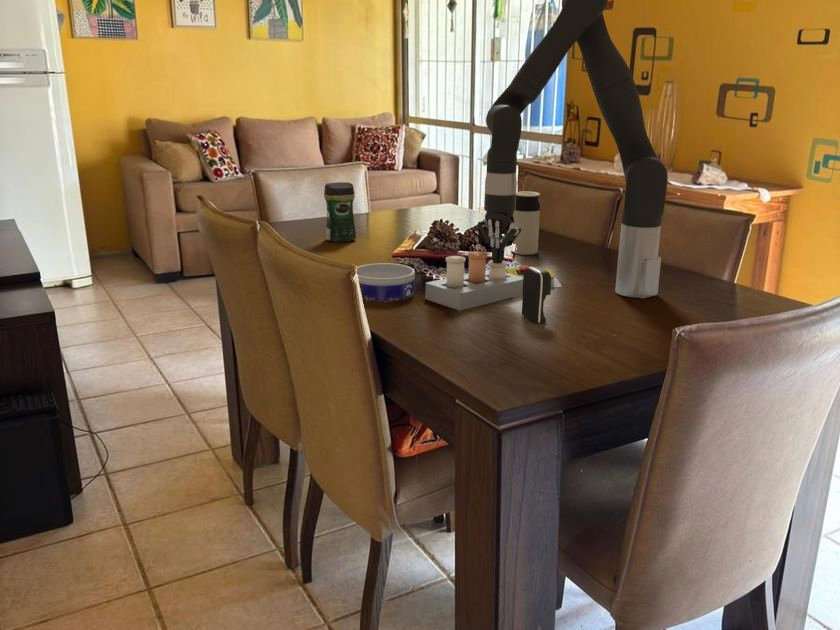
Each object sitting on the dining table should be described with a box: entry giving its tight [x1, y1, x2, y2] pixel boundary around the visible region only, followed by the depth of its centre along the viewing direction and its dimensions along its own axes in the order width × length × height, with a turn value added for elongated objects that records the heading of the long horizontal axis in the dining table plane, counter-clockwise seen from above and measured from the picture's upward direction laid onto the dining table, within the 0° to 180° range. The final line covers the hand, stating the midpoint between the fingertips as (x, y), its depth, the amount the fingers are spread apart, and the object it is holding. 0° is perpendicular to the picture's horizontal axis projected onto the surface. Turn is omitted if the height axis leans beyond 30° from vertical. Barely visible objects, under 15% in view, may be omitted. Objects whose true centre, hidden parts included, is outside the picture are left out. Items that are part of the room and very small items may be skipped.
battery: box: [521, 266, 552, 324], centre depth 166 cm, size 7×4×11 cm, turn 21°
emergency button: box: [506, 265, 563, 289], centre depth 197 cm, size 9×4×15 cm
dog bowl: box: [356, 262, 416, 303], centre depth 185 cm, size 15×15×6 cm
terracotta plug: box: [467, 251, 488, 284], centre depth 182 cm, size 5×5×7 cm
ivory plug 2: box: [487, 260, 508, 280], centre depth 187 cm, size 5×5×7 cm
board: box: [424, 269, 523, 311], centre depth 183 cm, size 12×22×4 cm, turn 130°
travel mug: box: [513, 190, 541, 256], centre depth 228 cm, size 8×8×18 cm
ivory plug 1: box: [445, 255, 467, 289], centre depth 178 cm, size 5×5×7 cm
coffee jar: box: [323, 181, 357, 243], centre depth 243 cm, size 10×8×19 cm
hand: (497, 262), depth 186 cm, fingers closed
